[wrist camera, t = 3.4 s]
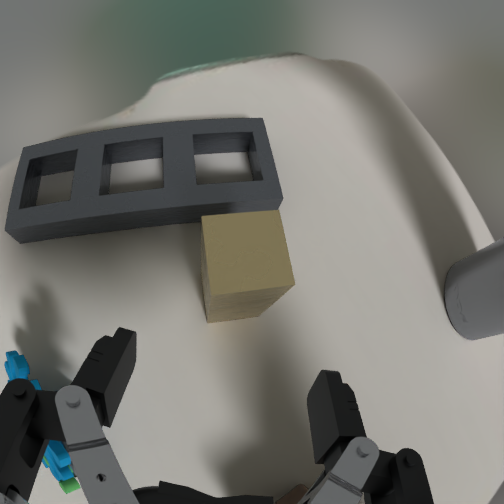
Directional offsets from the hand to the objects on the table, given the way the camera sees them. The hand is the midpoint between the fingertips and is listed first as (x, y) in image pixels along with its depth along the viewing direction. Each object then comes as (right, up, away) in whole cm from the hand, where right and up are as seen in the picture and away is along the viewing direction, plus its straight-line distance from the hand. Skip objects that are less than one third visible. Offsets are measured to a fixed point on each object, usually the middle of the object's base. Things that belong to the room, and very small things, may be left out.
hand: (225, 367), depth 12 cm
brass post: (-1, +1, +12) cm, 12 cm away
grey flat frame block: (-9, +11, +14) cm, 20 cm away
